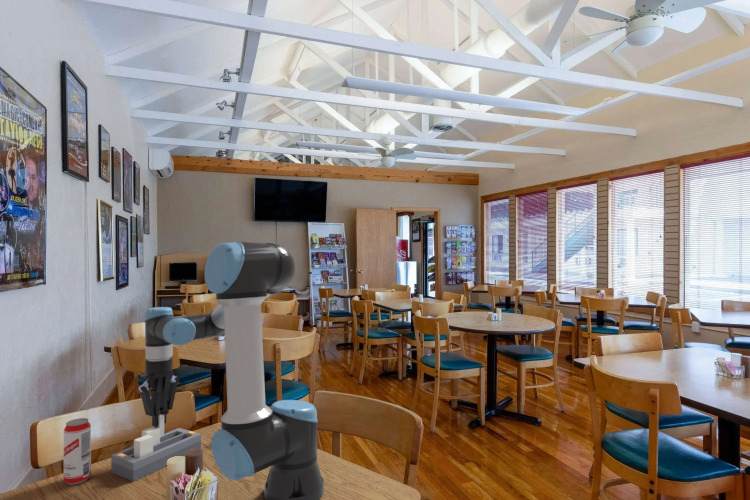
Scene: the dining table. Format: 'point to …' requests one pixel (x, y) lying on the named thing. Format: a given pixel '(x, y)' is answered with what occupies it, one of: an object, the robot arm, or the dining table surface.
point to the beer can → (77, 451)
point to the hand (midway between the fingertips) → (159, 435)
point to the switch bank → (154, 454)
